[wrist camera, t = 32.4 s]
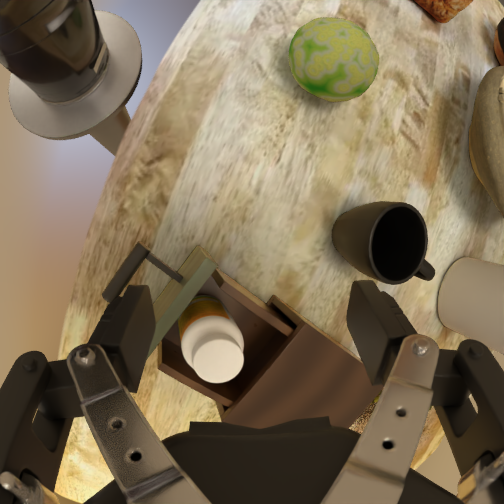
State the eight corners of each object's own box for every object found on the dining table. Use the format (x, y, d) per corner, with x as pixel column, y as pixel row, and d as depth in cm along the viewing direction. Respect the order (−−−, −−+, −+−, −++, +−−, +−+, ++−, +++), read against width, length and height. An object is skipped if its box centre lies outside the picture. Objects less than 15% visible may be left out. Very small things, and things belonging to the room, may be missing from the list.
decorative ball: (272, 101, 33) (310, 70, 23) (278, 31, 31) (312, -11, 22) (348, 118, 35) (400, 100, 26) (348, 51, 34) (394, 22, 25)
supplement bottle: (166, 318, 32) (168, 363, 22) (204, 283, 32) (219, 316, 23) (202, 351, 33) (218, 401, 24) (238, 317, 34) (266, 359, 24)
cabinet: (207, 375, 36) (221, 422, 27) (273, 294, 36) (306, 322, 28) (292, 418, 40) (318, 459, 32) (349, 350, 41) (388, 381, 32)
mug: (374, 291, 40) (421, 313, 31) (309, 244, 37) (353, 259, 27) (402, 239, 40) (453, 250, 31) (343, 186, 37) (394, 184, 28)
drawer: (96, 301, 30) (80, 327, 23) (158, 213, 31) (155, 217, 24) (232, 387, 36) (247, 423, 29) (291, 314, 36) (319, 339, 29)
